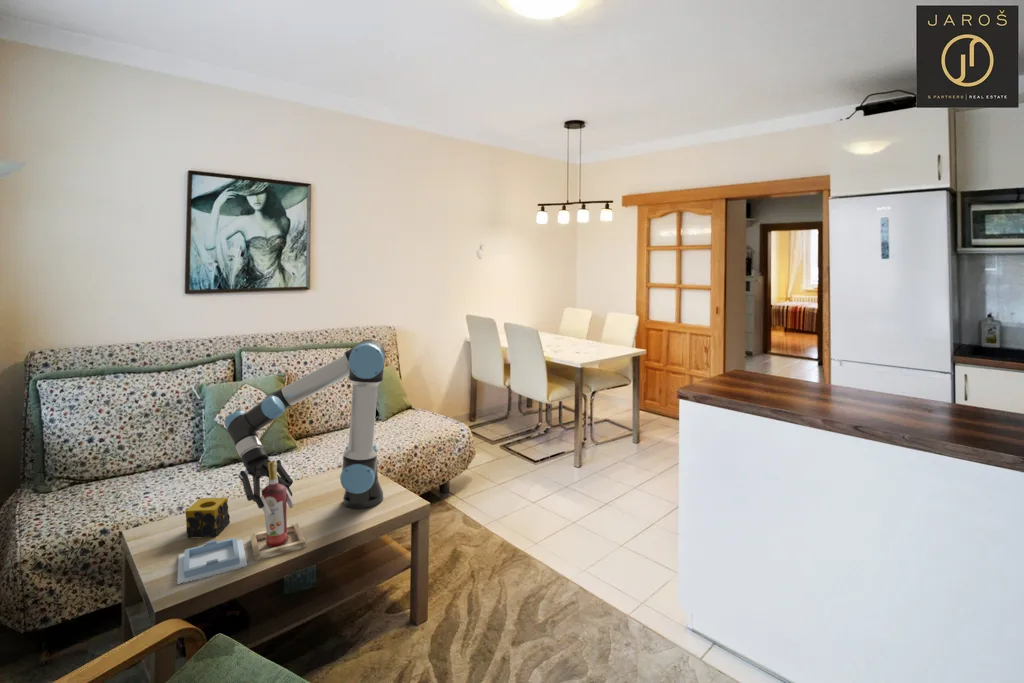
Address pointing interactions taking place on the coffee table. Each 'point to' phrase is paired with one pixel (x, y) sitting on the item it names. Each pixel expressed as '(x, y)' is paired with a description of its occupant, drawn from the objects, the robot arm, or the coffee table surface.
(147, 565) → the coffee table surface
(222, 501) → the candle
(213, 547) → the tray
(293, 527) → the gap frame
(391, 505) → the coffee table surface
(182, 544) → the coffee table surface
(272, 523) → the liquor
